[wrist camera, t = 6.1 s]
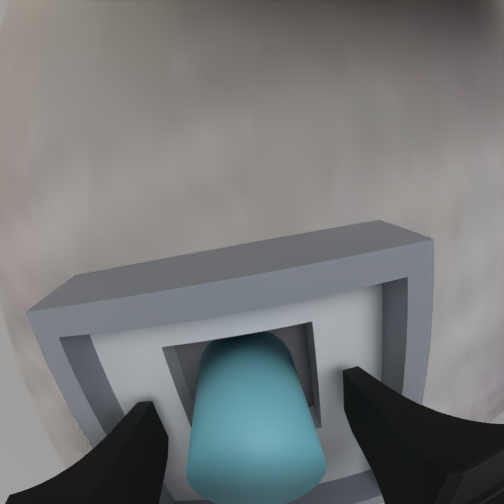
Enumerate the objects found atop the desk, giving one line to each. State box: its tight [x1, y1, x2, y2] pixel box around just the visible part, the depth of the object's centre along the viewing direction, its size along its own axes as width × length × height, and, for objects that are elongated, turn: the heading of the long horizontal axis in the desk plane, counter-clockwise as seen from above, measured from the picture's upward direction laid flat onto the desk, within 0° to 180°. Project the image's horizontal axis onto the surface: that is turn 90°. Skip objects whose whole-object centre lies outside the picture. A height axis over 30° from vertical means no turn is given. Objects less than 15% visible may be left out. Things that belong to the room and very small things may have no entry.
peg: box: [186, 331, 326, 504], centre depth 10 cm, size 4×4×6 cm
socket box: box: [26, 220, 434, 504], centre depth 12 cm, size 13×14×4 cm
